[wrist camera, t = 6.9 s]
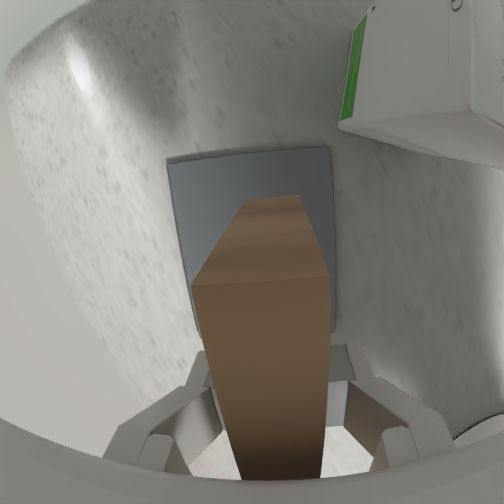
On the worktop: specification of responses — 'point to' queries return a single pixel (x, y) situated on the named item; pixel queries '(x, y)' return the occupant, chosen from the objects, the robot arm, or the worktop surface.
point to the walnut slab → (268, 338)
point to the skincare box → (429, 78)
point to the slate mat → (250, 187)
